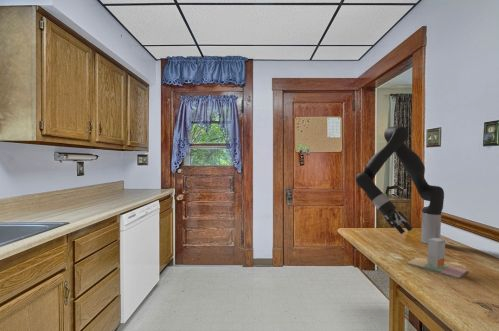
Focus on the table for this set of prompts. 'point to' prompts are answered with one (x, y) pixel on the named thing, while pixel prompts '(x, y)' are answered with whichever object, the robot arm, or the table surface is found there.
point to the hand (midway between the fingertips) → (407, 231)
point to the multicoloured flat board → (442, 270)
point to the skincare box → (436, 252)
